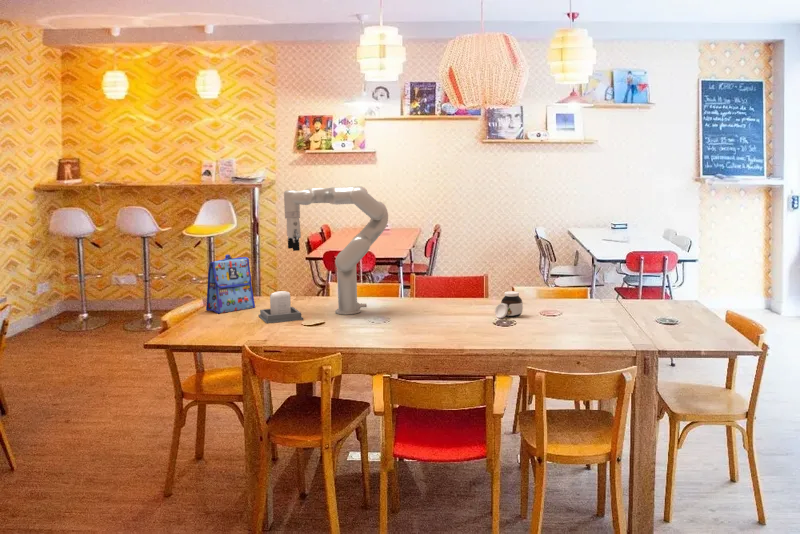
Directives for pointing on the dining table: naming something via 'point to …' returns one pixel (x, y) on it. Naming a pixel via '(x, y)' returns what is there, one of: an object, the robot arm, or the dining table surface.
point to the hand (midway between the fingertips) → (293, 249)
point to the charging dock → (280, 316)
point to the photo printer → (280, 303)
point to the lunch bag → (229, 285)
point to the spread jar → (510, 305)
